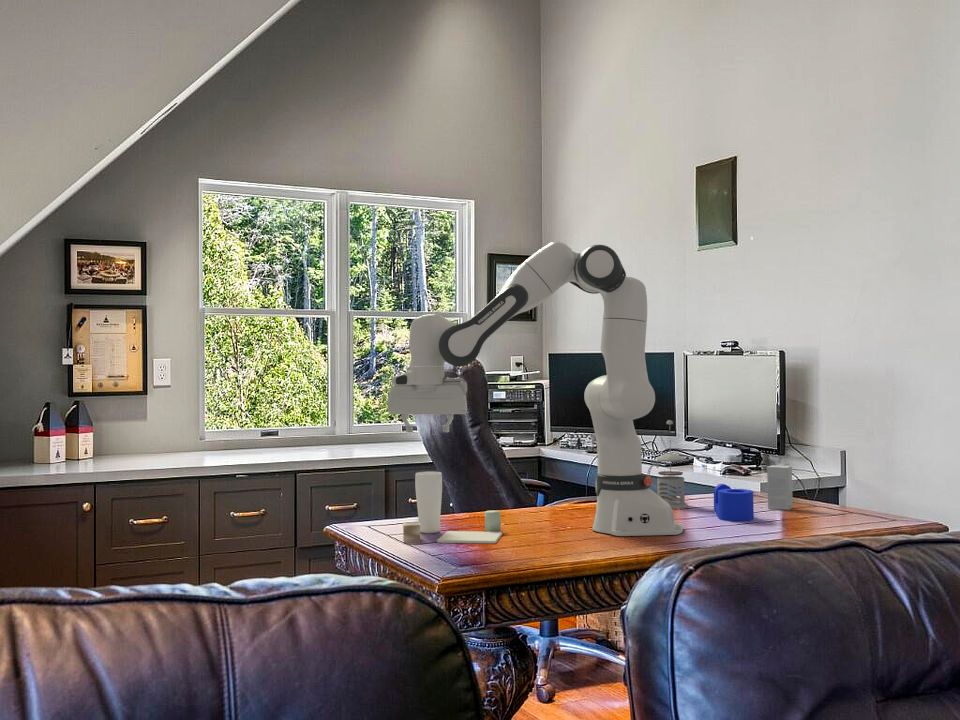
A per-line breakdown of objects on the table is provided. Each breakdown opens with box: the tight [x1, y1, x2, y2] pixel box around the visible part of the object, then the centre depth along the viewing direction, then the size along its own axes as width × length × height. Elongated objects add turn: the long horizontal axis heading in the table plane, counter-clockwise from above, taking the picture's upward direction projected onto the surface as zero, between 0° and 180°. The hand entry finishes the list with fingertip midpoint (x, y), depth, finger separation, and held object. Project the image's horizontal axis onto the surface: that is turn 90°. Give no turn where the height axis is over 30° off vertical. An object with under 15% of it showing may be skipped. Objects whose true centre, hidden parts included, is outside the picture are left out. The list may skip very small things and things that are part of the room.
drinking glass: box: [414, 471, 443, 534], centre depth 243 cm, size 7×7×15 cm
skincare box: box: [766, 464, 794, 511], centre depth 270 cm, size 6×4×12 cm
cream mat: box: [437, 530, 503, 544], centre depth 233 cm, size 14×12×1 cm
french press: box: [647, 419, 689, 509], centre depth 279 cm, size 10×12×25 cm
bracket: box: [713, 483, 755, 523], centre depth 260 cm, size 20×9×8 cm, turn 179°
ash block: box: [402, 521, 421, 543], centre depth 232 cm, size 4×4×4 cm
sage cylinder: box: [484, 510, 502, 532], centre depth 242 cm, size 4×4×5 cm
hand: (427, 432), depth 243 cm, fingers open, 8 cm apart
